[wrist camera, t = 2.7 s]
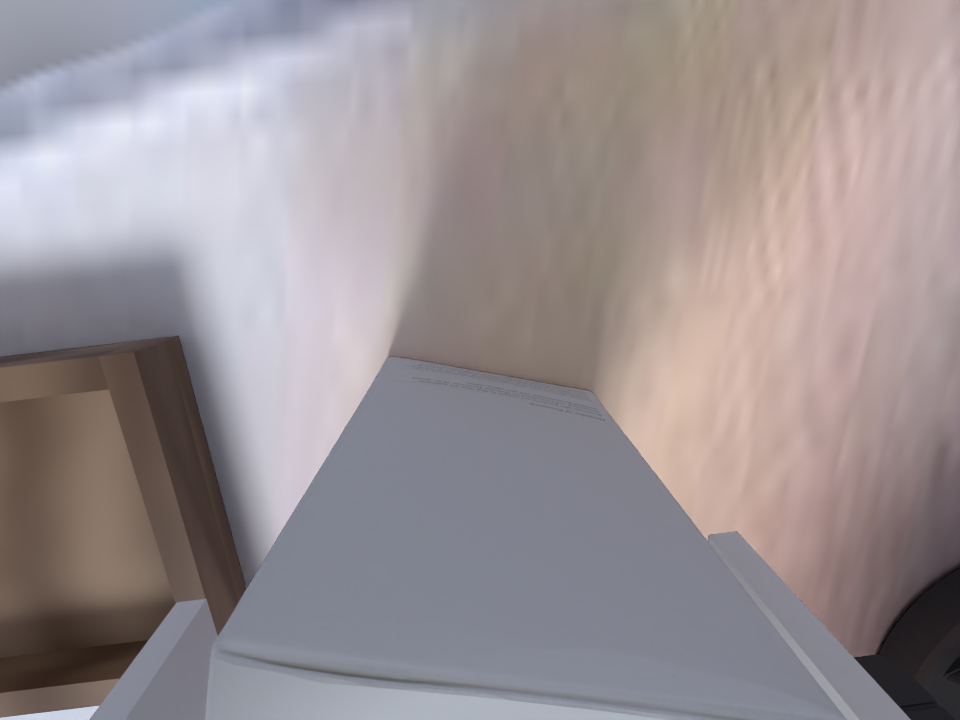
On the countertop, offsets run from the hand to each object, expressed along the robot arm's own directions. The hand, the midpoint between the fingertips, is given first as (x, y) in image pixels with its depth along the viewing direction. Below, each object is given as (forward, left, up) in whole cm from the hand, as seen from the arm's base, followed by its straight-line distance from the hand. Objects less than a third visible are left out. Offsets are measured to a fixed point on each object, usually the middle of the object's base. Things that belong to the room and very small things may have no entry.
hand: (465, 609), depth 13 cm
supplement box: (0, 0, -9) cm, 9 cm away
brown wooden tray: (+18, 0, -9) cm, 20 cm away
